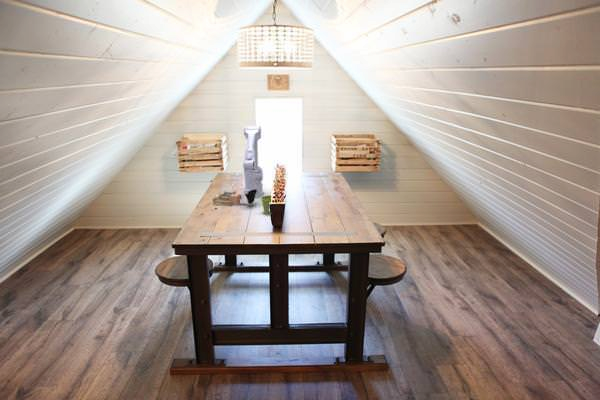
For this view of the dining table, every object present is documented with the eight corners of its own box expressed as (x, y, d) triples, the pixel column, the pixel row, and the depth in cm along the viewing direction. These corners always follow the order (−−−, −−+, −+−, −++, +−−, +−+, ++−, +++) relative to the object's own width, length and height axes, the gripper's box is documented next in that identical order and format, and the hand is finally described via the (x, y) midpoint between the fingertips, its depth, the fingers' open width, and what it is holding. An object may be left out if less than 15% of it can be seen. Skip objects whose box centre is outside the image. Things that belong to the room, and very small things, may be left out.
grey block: (229, 198, 279) (228, 190, 277) (236, 199, 278) (235, 190, 276) (226, 200, 275) (225, 192, 273) (233, 201, 274) (232, 192, 272)
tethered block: (233, 202, 270) (232, 193, 269) (253, 204, 267) (253, 194, 265) (230, 204, 266) (229, 195, 265) (250, 206, 263) (250, 196, 261)
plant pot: (274, 215, 247) (273, 200, 244) (258, 214, 250) (257, 199, 247) (280, 210, 255) (280, 196, 253) (265, 209, 258) (264, 194, 256)
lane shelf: (224, 197, 282) (224, 191, 281) (241, 198, 279) (241, 192, 278) (213, 204, 267) (212, 198, 266) (230, 206, 264) (230, 199, 263)
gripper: (251, 183, 253) (252, 206, 257) (261, 177, 266) (261, 199, 270) (240, 182, 255) (241, 205, 259) (249, 176, 268) (250, 198, 272)
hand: (251, 202), depth 265 cm, fingers closed on tethered block, 2 cm apart
